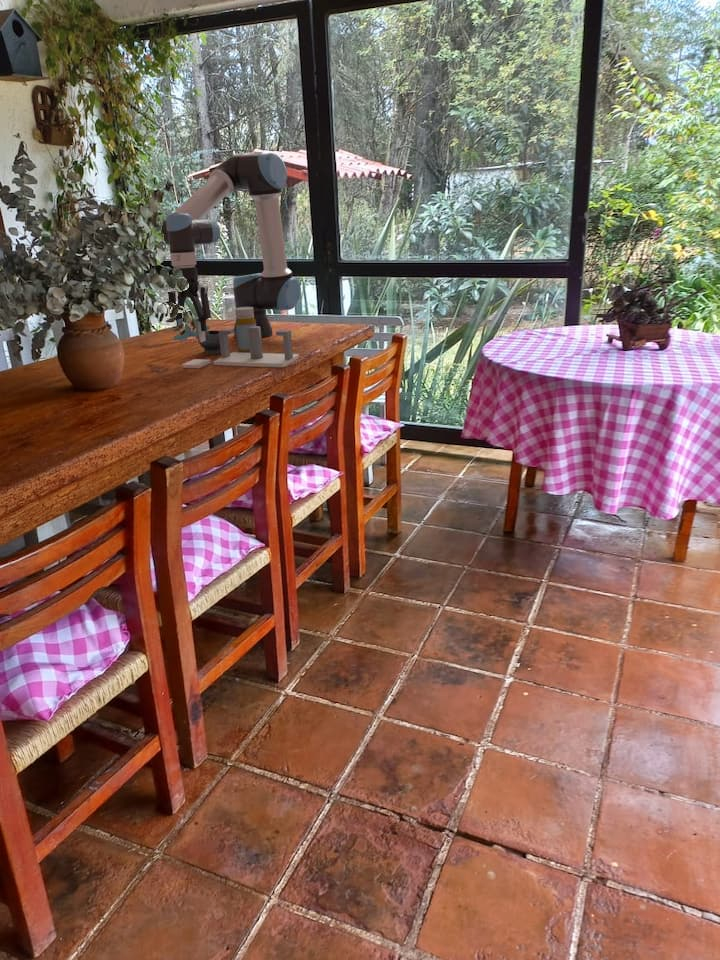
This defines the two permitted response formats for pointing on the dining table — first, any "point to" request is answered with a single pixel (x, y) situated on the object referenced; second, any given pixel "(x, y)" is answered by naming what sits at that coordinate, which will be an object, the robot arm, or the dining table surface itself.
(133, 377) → the dining table surface
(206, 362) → the tile
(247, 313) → the bottle
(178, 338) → the teal cube with tabs
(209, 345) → the mortar and pestle
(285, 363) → the white and grey stand
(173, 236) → the robot arm
